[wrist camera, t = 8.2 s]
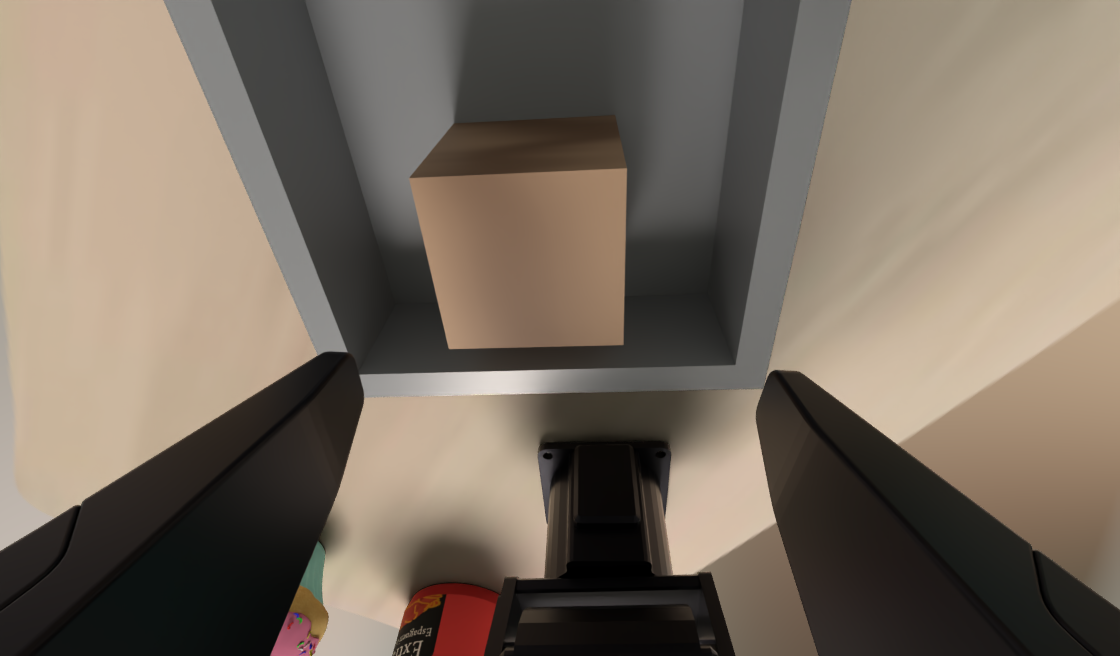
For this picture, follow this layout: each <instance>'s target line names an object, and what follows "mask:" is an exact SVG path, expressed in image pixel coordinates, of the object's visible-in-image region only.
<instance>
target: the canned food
mask: <svg viewBox="0 0 1120 656" xmlns="http://www.w3.org/2000/svg"><path fill="white" fill-rule="evenodd" d="M498 595H499V594H497V593H495V592H493V591H491V590H488V589H485V588H482V587H478V586H475V585H469V584H461V583H443V584H437V585H432V586H429V587H426V588H424V589H422V590H420V591H418V592H417V593H416V594H415V595H414V596H413V598H412V599H411V601H410V603H409V604H408V606H407V608H406V610H405V612H404V616H403V619H402V623H401V626H400V630H399V634H398V637H397V641H396V644H395V648H394V651H393V655H392V656H484V652H485V648H486V644H487V640H488V635H489V631H490V627H491V623H492V619H493V615H494V611H495V607H496V603H497V599H498Z"/></svg>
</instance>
